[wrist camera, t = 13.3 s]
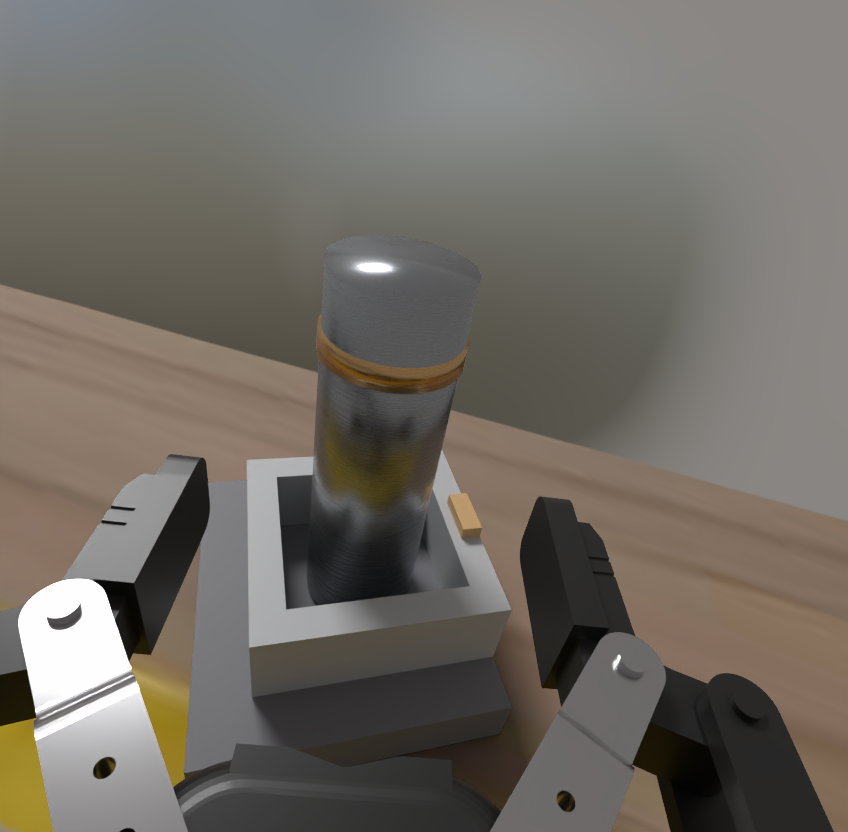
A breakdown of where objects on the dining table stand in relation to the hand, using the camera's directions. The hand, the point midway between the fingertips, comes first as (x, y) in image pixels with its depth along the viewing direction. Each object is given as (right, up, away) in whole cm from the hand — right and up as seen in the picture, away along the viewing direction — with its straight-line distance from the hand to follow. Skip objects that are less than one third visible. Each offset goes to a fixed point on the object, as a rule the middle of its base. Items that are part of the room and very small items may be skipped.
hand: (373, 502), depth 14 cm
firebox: (-3, -6, +11) cm, 13 cm away
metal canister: (-2, -5, +10) cm, 11 cm away
